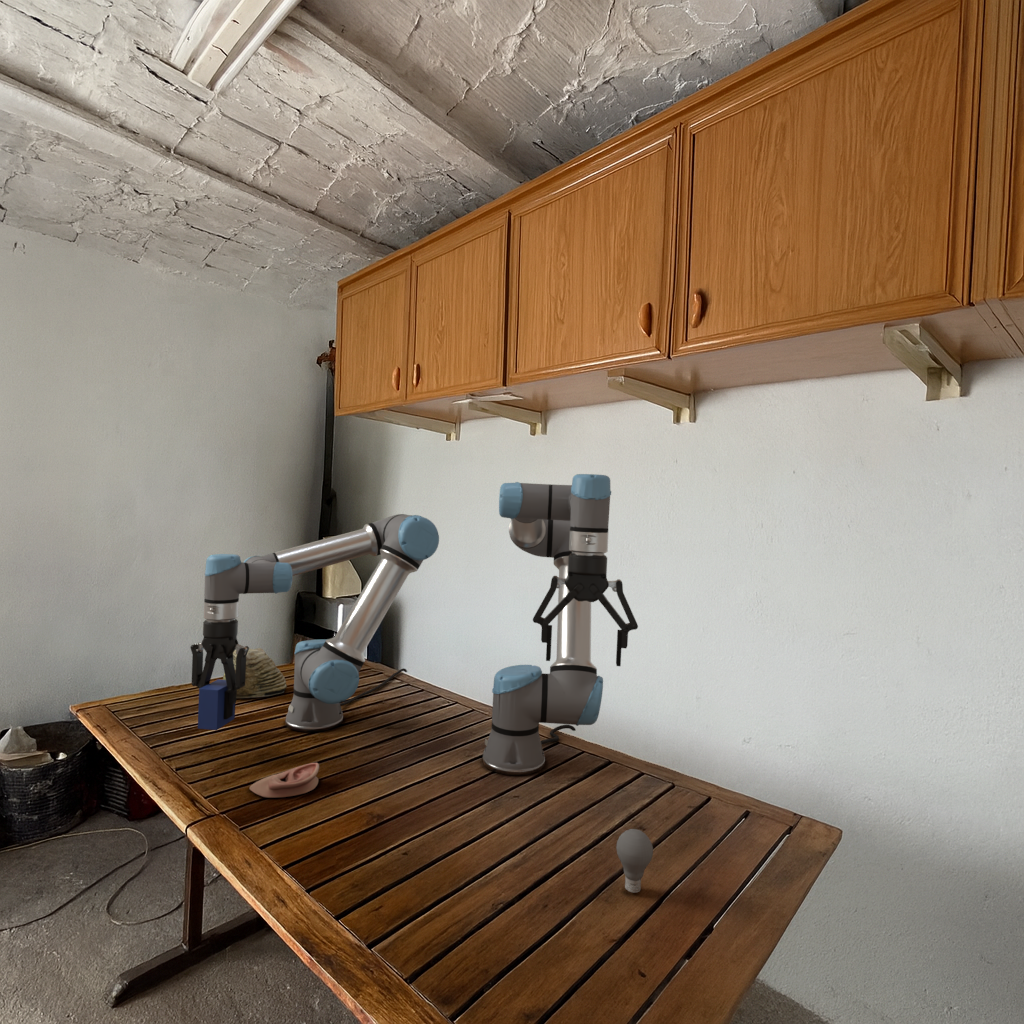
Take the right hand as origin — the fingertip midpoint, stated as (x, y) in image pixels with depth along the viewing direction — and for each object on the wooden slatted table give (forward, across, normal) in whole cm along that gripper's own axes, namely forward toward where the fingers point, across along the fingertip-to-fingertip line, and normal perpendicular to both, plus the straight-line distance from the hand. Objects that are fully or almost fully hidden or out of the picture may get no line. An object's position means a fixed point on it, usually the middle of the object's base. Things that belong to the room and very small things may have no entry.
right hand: (583, 662), depth 124 cm
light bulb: (+33, +10, -18) cm, 39 cm away
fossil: (+33, -102, +62) cm, 123 cm away
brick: (+25, -86, +16) cm, 91 cm away
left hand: (+24, -86, +17) cm, 91 cm away
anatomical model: (+33, -63, +5) cm, 72 cm away
